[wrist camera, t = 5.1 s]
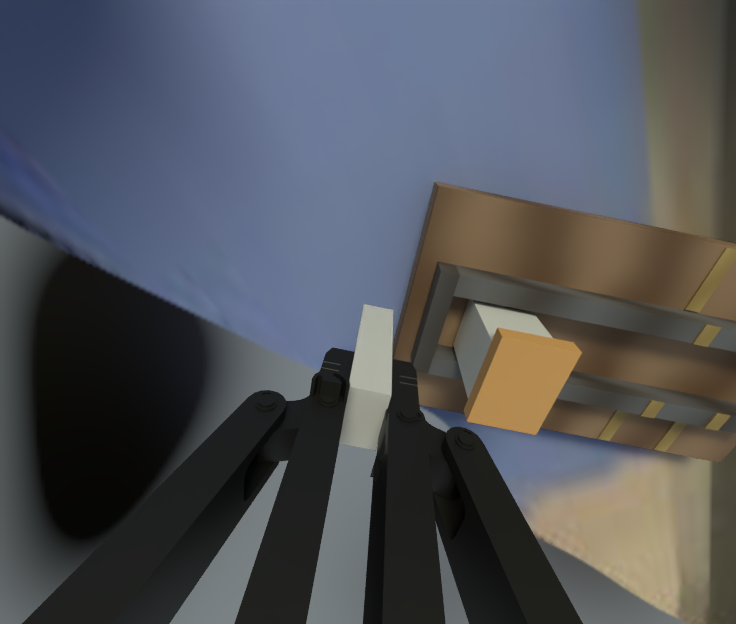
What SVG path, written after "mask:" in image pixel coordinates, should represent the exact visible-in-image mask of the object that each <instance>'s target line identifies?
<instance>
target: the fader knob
mask: <svg viewBox="0 0 736 624" xmlns="http://www.w3.org/2000/svg"><path fill="white" fill-rule="evenodd" d="M453 346H454V350H455V353H456V357H457V361H458V364H459V368H460V371H461V375H462V379H463V382H464V386H465V390H466V393H467V397H468V401H467V403H466V406H465V408H464V413H465V417H466V421H467V422H471V423H476V424H481V425H487V426H492V427H497V428H502V429H508V430H513V431H518V432H523V433H528V434H534V435H536V434H537V432H538V431H539V429H540V427H541V425H542V423H543V422H544V420H545V418H546V416H547V415H548V413H549V411H550V409H551V407H552V406H553V404H554V402H555V400H556V398H557V397H558V395H559V393H560V391H561V389H562V388H563V386H564V384H565V382H566V381H567V379H568V377H569V375H570V373H571V372H572V370H573V368H574V366H575V364H576V363H577V361H578V359H579V357H580V355H581V354H582V352H581V351H580V349H579V348H578V347H577V346H576V345H575V344H574V342H569V341H564V340H559V339H554V338H553V337H552V336H551V335H550V334H549V332H548V331H547V330H546V328H545V327H544V326H543V325H542V323H541V322H540V321H539V319H538V318H537V317H536V316H535V314H534V313H533V312H532V311H527V310H522V309H517V308H512V307H507V306H502V305H497V304H492V303H487V302H482V301H477V300H472V299H469V301H468V304H467V306H466V309H465V312H464V315H463V318H462V321H461V323H460V326H459V329H458V332H457V335H456V338H455V341H454V343H453Z"/></svg>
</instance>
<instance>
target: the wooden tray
mask: <svg viewBox="0 0 736 624" xmlns="http://www.w3.org/2000/svg"><path fill="white" fill-rule="evenodd" d="M469 299H472V300H477V301H482V302H487V303H492V304H497V305H502V306H507V307H512V308H517V309H522V310H527V311H532V312H533V313H534V314H535V316H536V317H537V318H538V319H539V321H540V322H541V323H542V325H543V326H544V327H545V328H546V330H547V331H548V332H549V334H550V335H551V336H552V337H553V338H554V339H559V340H564V341H569V342H574V344H575V345H576V346H577V347H578V348H579V349H580V351H581V352H582V354H581V355H580V357H579V359H578V361H577V363H576V364H575V366H574V368H573V370H572V372H571V373H570V375H569V377H568V379H567V381H566V382H565V384H564V386H563V388H562V389H561V391H560V393H559V395H558V397H557V398H556V400H555V402H554V404H553V406H552V407H551V409H550V411H549V413H548V415H547V416H546V418H545V420H544V422H543V423H542V425H541V427H540V428H542V429H547V430H553V431H558V432H563V433H568V434H574V435H579V436H584V437H589V438H594V439H600V440H605V441H610V442H615V443H620V444H626V445H631V446H636V447H641V448H646V449H652V450H657V451H662V452H667V453H672V454H678V455H683V456H688V457H693V458H699V459H704V460H709V461H714V462H719V463H720V462H721V461H722V460H723V459H724V458H725V457H726V455H727V454H728V453H729V452H730V451H731V450H732V449H733V448H734V447H735V446H736V243H731V242H726V241H721V240H716V239H711V238H706V237H701V236H696V235H692V234H687V233H682V232H677V231H672V230H667V229H662V228H657V227H653V226H648V225H643V224H638V223H633V222H628V221H623V220H618V219H613V218H609V217H604V216H599V215H594V214H589V213H584V212H579V211H574V210H570V209H565V208H560V207H555V206H550V205H545V204H540V203H535V202H531V201H526V200H521V199H516V198H511V197H506V196H501V195H496V194H491V193H487V192H482V191H477V190H472V189H467V188H462V187H457V186H452V185H448V184H443V183H438V182H435V183H434V187H433V191H432V195H431V199H430V203H429V207H428V211H427V215H426V219H425V222H424V226H423V230H422V234H421V238H420V242H419V246H418V250H417V254H416V257H415V261H414V265H413V269H412V273H411V277H410V281H409V285H408V289H407V293H406V296H405V300H404V304H403V308H402V312H401V316H400V320H399V324H398V328H397V331H396V335H395V339H394V343H393V347H392V359H396V360H401V361H406V362H411V363H412V365H413V366H414V368H415V369H416V372H417V383H418V385H417V386H418V395H419V405H422V406H428V407H433V408H438V409H443V410H448V411H454V412H459V413H464V408H465V406H466V403H467V401H468V397H467V393H466V390H465V386H464V382H463V379H462V375H461V371H460V368H459V364H458V361H457V357H456V353H455V350H454V346H453V343H454V341H455V338H456V335H457V332H458V329H459V326H460V323H461V321H462V318H463V315H464V312H465V309H466V306H467V304H468V301H469ZM464 414H465V413H464Z"/></svg>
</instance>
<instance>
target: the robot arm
mask: <svg viewBox="0 0 736 624" xmlns="http://www.w3.org/2000/svg"><path fill="white" fill-rule="evenodd" d="M392 342H393V310H390V309H385V308H380V307H376V306H371V305H366V304H364V308H363V312H362V317H361V322H360V327H359V332H358V337H357V342H356V346H355V351H354V352H352V351H347V350H342V349H337V348H331V349H330V350H329V351H328V352H327V353H326V354H325V357H324V360H323V364H322V367H321V370H320V372H318V373H316V374H315V375H314V376H313V378H312V383H311V390H310V395H309V396H308V397H306V398H305V399H301V400H296V401H286V400H285V398H284V397H283V396H282V395H281V394H279V393H277V392H274V391H270V390H268V391H267V390H266V391H259V392H256V393H254V394H252V395H251V396H249V397H248V398H247V399H246V400H245V401H244V402H243V403H242V404H241V405H240V406H239V407H238V408H237V409H236V410H235V411H234V412H233V413H232V414H231V415H230V416H229V417H228V418H227V419H226V420H225V421H224V422H223V423H222V424H221V425H220V426H219V427H218V428H217V429H216V430H215V431H214V432H213V433H212V434H211V435H210V436H209V437H208V438H207V439H206V440H205V441H204V442H203V443H202V444H201V445H200V446H199V447H198V448H197V449H196V450H195V451H194V452H193V453H192V454H191V455H190V456H189V457H188V458H187V459H186V460H185V461H184V462H183V463H182V464H181V465H180V466H179V467H178V468H177V469H176V470H175V471H174V472H173V473H172V475H170V476H169V477H168V478H167V479H166V480H165V481H164V482H163V483H162V484H161V485H160V486H159V487H158V488H157V489H156V490H155V491H154V492H153V493H152V494H151V496H149V497H148V498H147V499H146V500H145V501H144V503H142V504H141V505H140V506H139V507H138V508H137V509H136V510H135V511H134V512H133V513H132V514H131V515H130V516H129V517H128V518H127V519H126V520H125V521H124V522H123V524H121V525H120V526H119V527H118V528H117V529H116V530H115V531H114V532H113V533H112V534H111V535H110V536H109V537H108V538H107V539H106V540H105V541H104V542H103V543H102V544H101V545H100V546H99V547H98V548H97V549H96V550H95V551H94V552H93V553H92V554H91V555H90V556H89V557H88V558H87V559H86V560H85V561H84V562H83V563H82V564H81V565H80V566H79V567H78V568H77V569H76V570H75V571H74V572H73V573H72V574H71V575H70V576H69V578H67V579H66V580H65V582H63V584H61V585H60V586H59V587H58V588H57V589H56V590H55V591H54V593H52V594H51V595H50V596H49V597H48V598H47V599H46V600H45V601H44V602H43V603H42V604H41V605H40V607H38V609H36V610H35V611H34V612H33V613H32V614H31V615H30V616H29V617H28V618H27V619H26V620H25V621H24V622H23V623H22V624H169V623H170V622H171V620H172V619H173V617H174V616H175V614H176V613H177V612H178V610H179V609H180V607H181V605H182V604H183V603H184V601H185V600H186V598H187V597H188V595H189V594H190V592H191V591H192V590H193V588H194V587H195V585H196V584H197V582H198V581H199V579H200V578H201V576H202V575H203V573H204V572H205V571H206V569H207V568H208V566H209V565H210V563H211V562H212V560H213V559H214V557H215V556H216V555H217V553H218V551H219V550H220V549H221V547H222V546H223V544H224V543H225V541H226V540H227V539H228V537H229V536H230V534H231V533H232V531H233V529H234V528H235V527H236V525H237V524H238V522H239V521H240V519H241V518H242V517H243V515H244V514H245V512H246V511H247V509H248V508H249V506H250V505H251V503H252V502H253V501H254V499H255V498H256V496H257V494H258V493H259V492H260V490H261V489H262V487H263V486H264V484H265V483H266V482H267V480H268V479H269V477H270V476H271V474H272V473H273V471H274V470H275V468H276V467H277V465H278V463H279V461H286V460H288V463H287V467H286V470H285V473H284V476H283V479H282V482H281V485H280V488H279V491H278V494H277V497H276V500H275V503H274V506H273V509H272V512H271V515H270V518H269V521H268V525H267V527H266V530H265V533H264V536H263V539H262V542H261V545H260V549H259V551H258V554H257V558H256V560H255V564H254V566H253V569H252V572H251V575H250V579H249V582H248V585H247V588H246V591H245V594H244V597H243V600H242V603H241V606H240V609H239V612H238V615H237V618H236V621H235V624H306V620H307V615H308V609H309V604H310V599H311V593H312V587H313V582H314V577H315V572H316V566H317V561H318V555H319V550H320V544H321V539H322V533H323V528H324V523H325V517H326V511H327V506H328V500H329V495H330V490H331V484H332V479H333V474H334V468H335V462H336V457H337V452H338V446H339V444H344V445H349V446H354V447H359V448H364V449H369V450H374V451H376V448H377V444H378V449H377V456H376V459H375V463H374V466H373V469H372V473H371V476H370V477H373V489H372V503H371V517H370V531H369V545H368V560H367V574H366V587H365V601H364V616H363V624H445V614H444V604H443V594H442V584H441V574H440V563H439V553H438V543H437V533H436V524H437V527H438V530H439V533H440V536H441V539H442V542H443V545H444V548H445V551H446V554H447V557H448V560H449V564H450V566H451V569H452V573H453V575H454V579H455V582H456V585H457V588H458V591H459V594H460V597H461V600H462V603H463V606H464V609H465V612H466V615H467V618H468V621H469V624H583V623H582V621H581V620H580V618H579V616H578V614H577V612H576V611H575V609H574V607H573V605H572V603H571V601H570V599H569V598H568V596H567V594H566V592H565V590H564V589H563V587H562V585H561V583H560V582H559V580H558V578H557V576H556V574H555V572H554V570H553V569H552V567H551V565H550V563H549V561H548V560H547V558H546V556H545V554H544V552H543V551H542V549H541V547H540V545H539V543H538V541H537V540H536V538H535V536H534V534H533V532H532V531H531V529H530V527H529V525H528V523H527V522H526V520H525V518H524V516H523V514H522V512H521V511H520V509H519V507H518V505H517V503H516V502H515V500H514V498H513V496H512V494H511V493H510V491H509V489H508V487H507V485H506V484H505V482H504V480H503V478H502V476H501V474H500V473H499V471H498V469H497V467H496V465H495V464H494V462H493V460H492V458H491V456H490V455H489V453H488V451H487V449H486V447H485V445H484V444H483V442H482V441H481V439H480V438H479V437H478V436H477V435H476V434H475V433H473V432H472V431H470V430H468V429H466V428H462V427H453V428H451V429H449V430H448V431H447V433H446V432H444V431H442V430H440V429H437V428H435V427H433V426H432V425H430V424H429V423H428V422H427V421H426V420H425V417H424V414H423V413H422V412H421V411H420V407H419V395H418V386H417V385H418V383H417V372H416V369H415V368H414V366H413V365H412V363H411V362H406V361H401V360H396V359H392ZM435 521H436V523H435Z"/></svg>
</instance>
